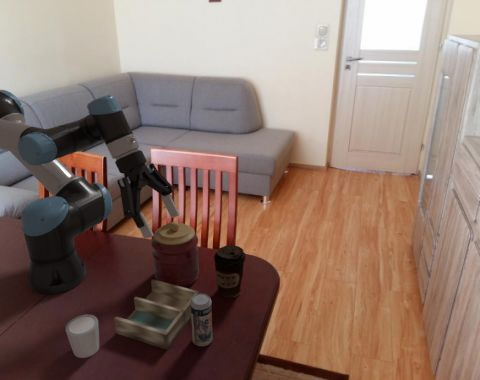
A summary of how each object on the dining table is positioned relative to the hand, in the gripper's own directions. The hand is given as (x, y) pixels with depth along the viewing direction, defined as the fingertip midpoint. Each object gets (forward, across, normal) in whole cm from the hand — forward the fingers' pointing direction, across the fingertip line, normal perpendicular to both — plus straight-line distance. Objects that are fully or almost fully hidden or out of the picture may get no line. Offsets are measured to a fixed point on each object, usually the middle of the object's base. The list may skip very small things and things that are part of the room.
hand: (163, 226), depth 108 cm
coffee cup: (+24, +2, -9) cm, 26 cm away
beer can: (+25, -17, -9) cm, 32 cm away
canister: (+16, +4, +6) cm, 18 cm away
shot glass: (+15, -28, +12) cm, 34 cm away
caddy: (+19, -14, +2) cm, 24 cm away
